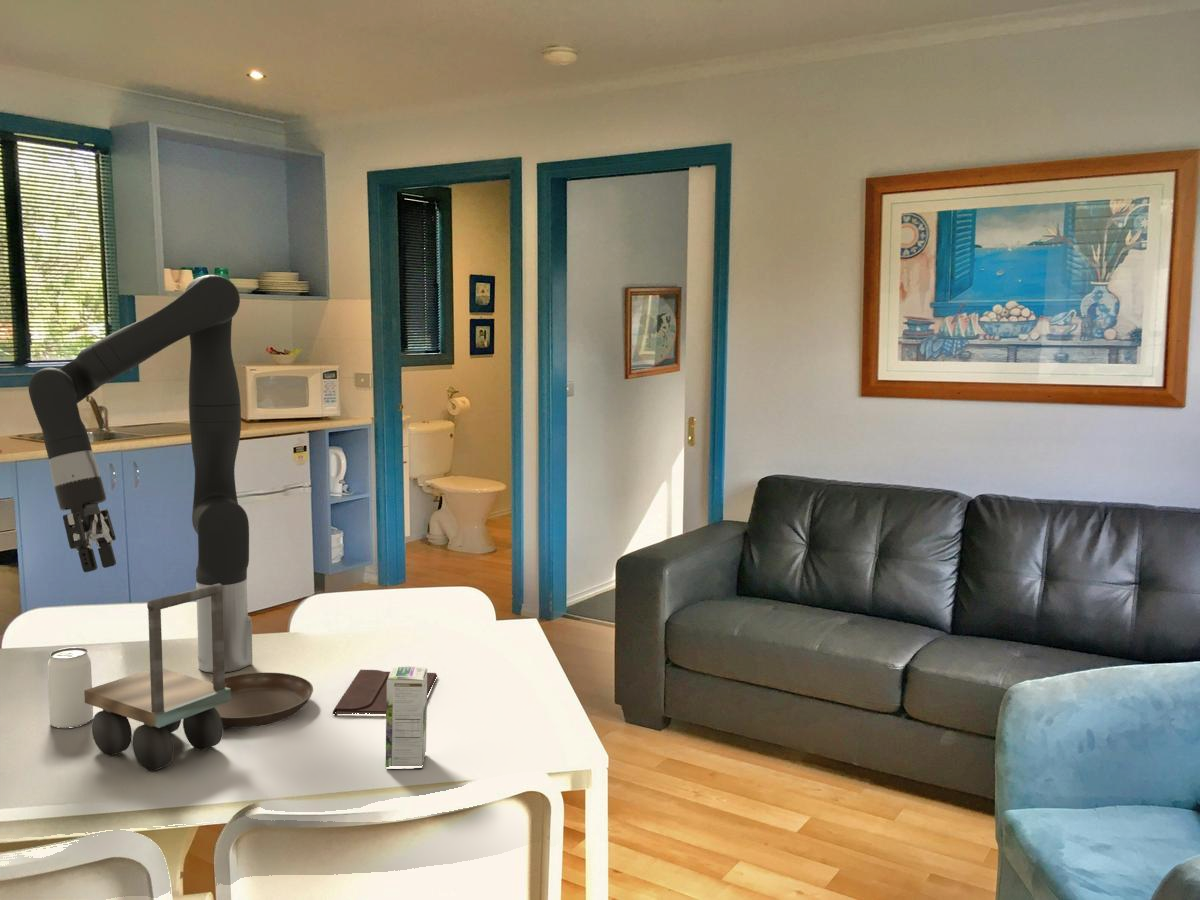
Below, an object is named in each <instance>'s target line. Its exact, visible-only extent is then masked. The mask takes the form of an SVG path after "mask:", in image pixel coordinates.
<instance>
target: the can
mask: <svg viewBox="0 0 1200 900" xmlns="http://www.w3.org/2000/svg"><path fill="white" fill-rule="evenodd" d="M46 665H47V668H46V669H47V689H48V691H47V692H48V693H47V694H48V710H49V713H48V714H49V724H50V725H51V726H52V727H53V726H55V727H59V728H69V727H76V726H80V725H83V726H85V725H87V724H89V723H90V722H91V721H92V720H93V718H94V706H93V705H90V704H87V703H85V696H84V690H87V689H90V688H93V679H92V676H93V675H92V661H91V657H90V656H89V654H88V649H87V648H85V647H75V646H74V647H64V648H60V649H57V650H54V651H52V652H51V653H50V654H49V660H48V662H47V664H46ZM90 720H91V721H90ZM89 721H90V722H89ZM88 722H89V723H88ZM86 723H87V724H86ZM84 724H85V725H84ZM55 727H54V728H55ZM80 727H81V726H80ZM59 728H58V729H59ZM76 728H77V727H76ZM69 729H70V728H69Z"/></svg>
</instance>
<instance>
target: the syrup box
mask: <svg viewBox="0 0 1200 900" xmlns="http://www.w3.org/2000/svg"><path fill="white" fill-rule="evenodd" d="M389 672H390V674H389V677H388V680H387V702H386V717H385V718H386V720H385V766H386V767H389V766H422V765H423V766H424V764H423V762H424V763H425V759H424V757H425V758H426V755H425V752H427V720H428V719H427V718H428V717H427V716H428V715H427V713H428V712H427V711H428V709H427V708H428V706H427V705H428V700H427V673H428V668H426V667H419V666H407V665H406V666H396V667H391V670H390V671H389Z"/></svg>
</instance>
